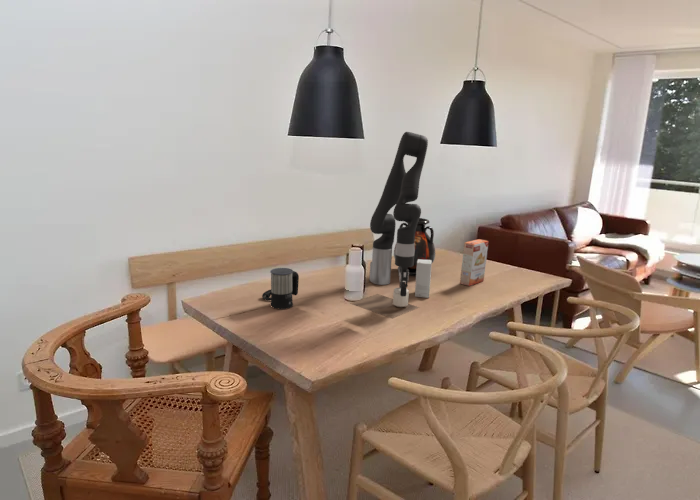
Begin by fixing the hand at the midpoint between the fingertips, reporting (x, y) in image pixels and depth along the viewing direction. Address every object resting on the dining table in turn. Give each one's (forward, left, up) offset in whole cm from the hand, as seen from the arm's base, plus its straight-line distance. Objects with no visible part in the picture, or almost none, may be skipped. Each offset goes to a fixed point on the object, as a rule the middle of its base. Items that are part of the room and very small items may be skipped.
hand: (402, 292), depth 192 cm
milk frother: (-40, -32, -8) cm, 52 cm away
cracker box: (0, +58, -8) cm, 58 cm away
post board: (-6, -4, -7) cm, 10 cm away
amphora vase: (-30, +50, -8) cm, 58 cm away
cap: (-1, 0, -5) cm, 5 cm away
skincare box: (-6, +23, -8) cm, 25 cm away
